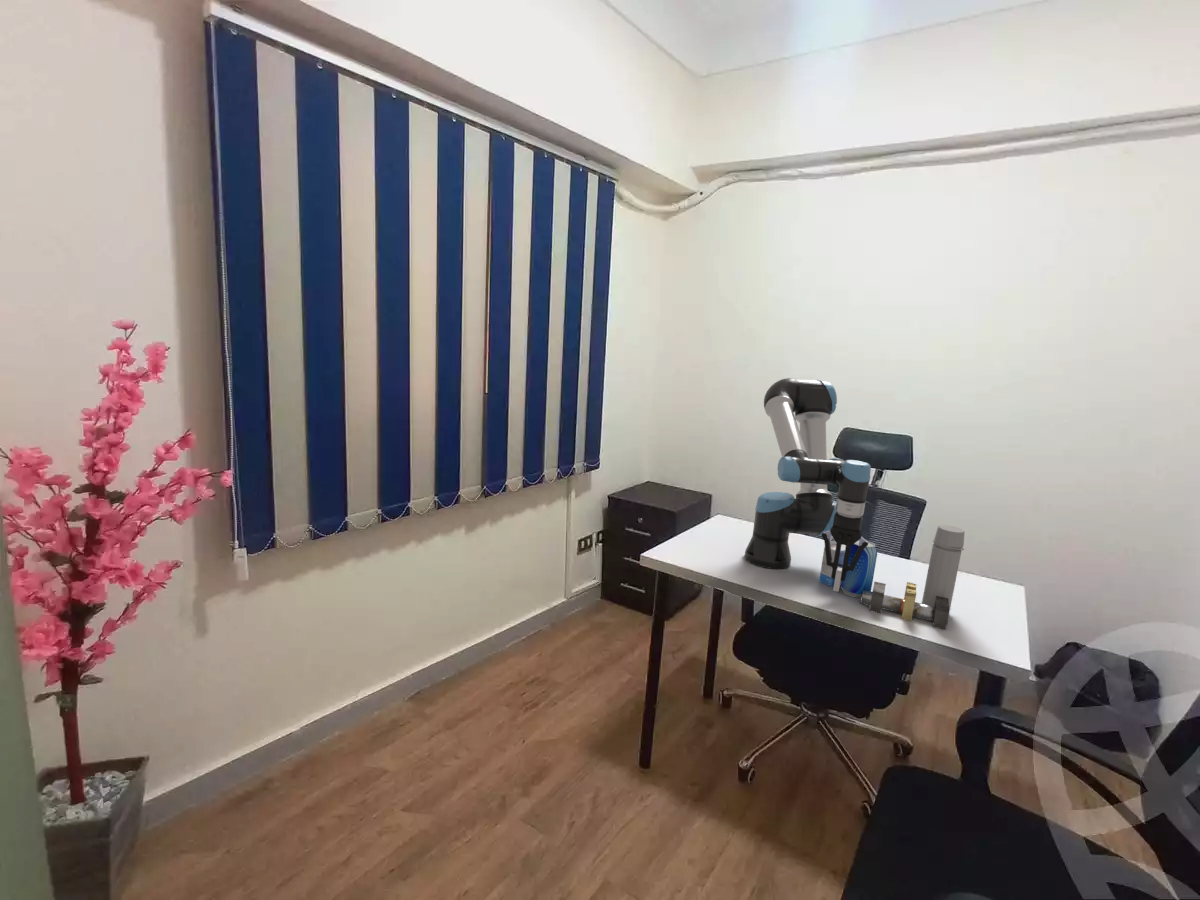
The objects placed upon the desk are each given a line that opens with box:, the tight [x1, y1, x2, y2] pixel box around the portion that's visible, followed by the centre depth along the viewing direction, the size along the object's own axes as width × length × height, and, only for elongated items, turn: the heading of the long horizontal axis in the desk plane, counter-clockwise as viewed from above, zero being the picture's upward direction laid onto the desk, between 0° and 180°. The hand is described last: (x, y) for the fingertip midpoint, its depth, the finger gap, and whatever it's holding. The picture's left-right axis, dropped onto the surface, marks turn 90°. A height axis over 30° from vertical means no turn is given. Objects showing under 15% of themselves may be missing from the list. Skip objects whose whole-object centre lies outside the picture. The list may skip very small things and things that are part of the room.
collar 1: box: [869, 581, 887, 614], centre depth 172 cm, size 3×8×6 cm, turn 152°
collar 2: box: [932, 596, 951, 631], centre depth 165 cm, size 3×8×6 cm, turn 152°
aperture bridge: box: [901, 581, 917, 622], centre depth 168 cm, size 2×8×8 cm, turn 152°
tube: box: [860, 590, 950, 625], centre depth 169 cm, size 22×4×4 cm, turn 62°
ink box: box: [818, 535, 846, 587], centre depth 187 cm, size 8×5×15 cm, turn 124°
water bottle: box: [921, 524, 965, 613], centre depth 170 cm, size 9×8×25 cm
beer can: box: [840, 540, 878, 599], centre depth 180 cm, size 8×8×16 cm
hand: (836, 589), depth 177 cm, fingers closed
